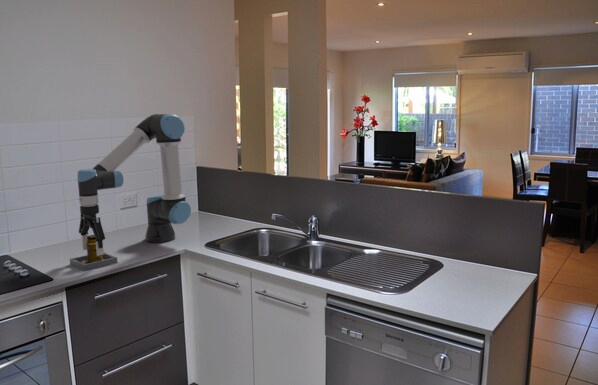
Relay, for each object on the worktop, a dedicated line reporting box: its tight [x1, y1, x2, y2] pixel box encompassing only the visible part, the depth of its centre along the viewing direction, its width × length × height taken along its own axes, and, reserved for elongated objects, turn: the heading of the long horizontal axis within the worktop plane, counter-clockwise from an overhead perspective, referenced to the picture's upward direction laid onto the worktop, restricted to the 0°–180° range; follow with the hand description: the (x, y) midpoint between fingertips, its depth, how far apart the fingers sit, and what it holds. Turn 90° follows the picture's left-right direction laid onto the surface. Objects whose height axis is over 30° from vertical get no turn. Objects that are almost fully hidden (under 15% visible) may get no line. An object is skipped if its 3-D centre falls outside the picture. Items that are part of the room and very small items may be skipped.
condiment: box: [82, 234, 103, 264], centre depth 224 cm, size 7×8×12 cm
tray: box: [69, 251, 118, 272], centre depth 225 cm, size 15×14×2 cm
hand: (93, 252), depth 224 cm, fingers open, 13 cm apart
